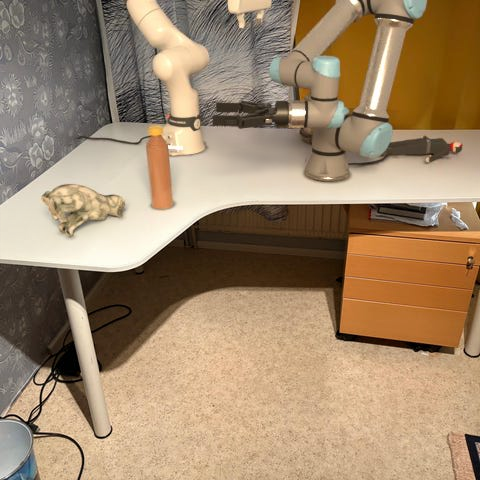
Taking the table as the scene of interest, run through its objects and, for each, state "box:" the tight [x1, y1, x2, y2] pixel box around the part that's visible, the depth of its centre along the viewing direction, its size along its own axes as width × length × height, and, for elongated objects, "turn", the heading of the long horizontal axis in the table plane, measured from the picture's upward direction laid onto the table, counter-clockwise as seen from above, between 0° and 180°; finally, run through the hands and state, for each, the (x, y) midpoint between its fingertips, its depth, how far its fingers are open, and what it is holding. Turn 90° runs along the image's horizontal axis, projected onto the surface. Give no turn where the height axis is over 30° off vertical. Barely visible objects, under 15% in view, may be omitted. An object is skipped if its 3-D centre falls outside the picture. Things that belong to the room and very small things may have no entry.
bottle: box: [145, 135, 174, 210], centre depth 163 cm, size 7×7×25 cm
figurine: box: [40, 183, 126, 238], centre depth 153 cm, size 10×19×20 cm
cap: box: [147, 124, 163, 136], centre depth 157 cm, size 4×4×2 cm
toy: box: [379, 135, 464, 163], centre depth 203 cm, size 26×6×30 cm
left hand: (250, 25), depth 175 cm, fingers open, 8 cm apart
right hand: (214, 113), depth 153 cm, fingers open, 13 cm apart
